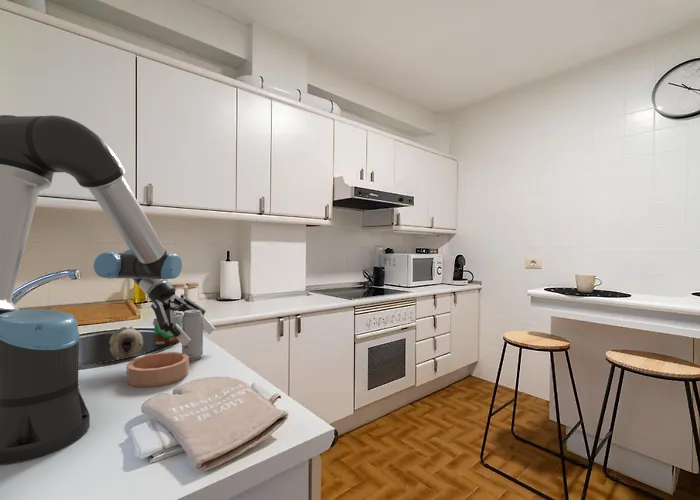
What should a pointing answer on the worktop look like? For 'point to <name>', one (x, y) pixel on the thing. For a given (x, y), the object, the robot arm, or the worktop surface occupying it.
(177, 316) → the food container
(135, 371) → the terracotta bowl
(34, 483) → the worktop surface
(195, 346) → the energy drink can
